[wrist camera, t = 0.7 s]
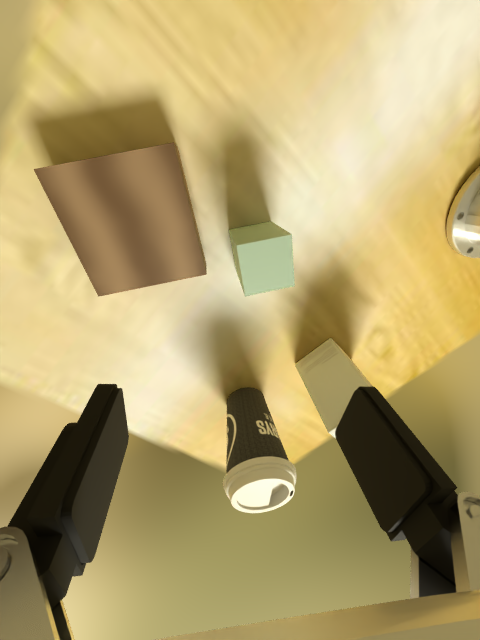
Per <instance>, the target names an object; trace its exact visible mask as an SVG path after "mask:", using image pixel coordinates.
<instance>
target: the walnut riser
mask: <svg viewBox="0 0 480 640" xmlns="http://www.w3.org/2000/svg"><path fill="white" fill-rule="evenodd" d="M34 171H35V173H36V175H37V177H38V179H39V181H40V183H41V185H42V187H43V189H44V191H45V193H46V194H47V196H48V198H49V200H50V202H51V204H52V206H53V208H54V210H55V212H56V214H57V216H58V218H59V220H60V222H61V224H62V226H63V228H64V230H65V232H66V234H67V236H68V238H69V240H70V242H71V243H72V245H73V247H74V249H75V251H76V253H77V255H78V257H79V259H80V261H81V263H82V265H83V267H84V269H85V271H86V273H87V275H88V277H89V279H90V281H91V283H92V285H93V287H94V289H95V290H96V292H97V294H98V296H103V295H108V294H113V293H118V292H123V291H128V290H132V289H137V288H142V287H147V286H152V285H157V284H162V283H167V282H172V281H177V280H181V279H186V278H191V277H196V276H201V275H206V262H205V257H204V253H203V249H202V245H201V241H200V237H199V233H198V229H197V225H196V221H195V217H194V212H193V208H192V204H191V200H190V196H189V192H188V188H187V184H186V180H185V176H184V172H183V167H182V163H181V159H180V155H179V151H178V147H177V146H176V145H175V144H174V143H169V144H164V145H158V146H153V147H148V148H143V149H137V150H132V151H127V152H122V153H117V154H111V155H106V156H101V157H96V158H90V159H85V160H80V161H75V162H69V163H64V164H59V165H54V166H48V167H43V168H38V169H34Z"/></svg>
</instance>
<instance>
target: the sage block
mask: <svg viewBox="0 0 480 640" xmlns="http://www.w3.org/2000/svg"><path fill="white" fill-rule="evenodd" d="M229 234H230V239H231V245H232V250H233V256H234V261H235V266H236V271H237V274H238V277H239V280H240V283H241V286H242V289H243V292H244V294H245V296H250V295H254V294H259V293H264V292H269V291H274V290H279V289H283V288H288V287H293V286H295V283H294V266H293V249H292V234H290V233H289V232H287V231H285V230H284V229H282V228H281V227H279V226H278V225H276V224H274V223H273V222H271V221H270V222H265V223H260V224H255V225H250V226H245V227H240V228H235V229H230V230H229Z"/></svg>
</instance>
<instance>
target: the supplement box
mask: <svg viewBox="0 0 480 640" xmlns="http://www.w3.org/2000/svg"><path fill="white" fill-rule="evenodd" d="M295 366H296V368H297V370H298V372H299V374H300V376H301V378H302V380H303V382H304V384H305V386H306V388H307V390H308V392H309V394H310V396H311V398H312V400H313V402H314V404H315V406H316V408H317V410H318V412H319V414H320V416H321V418H322V421H323V423H324V425H325V427H326V429H327V431H328V433H330V434H331V435H332V436H334V437H335V438H336V436H335V431H336V428H337V426H338V424H339V422H340V420H341V418H342V416H343V414H344V411H345V409H346V407H347V405H348V403H349V401H350V399H351V397H352V395H353V393H354V391H355V390H357V388H358V387H360V386H366V387H373V386H372V385H371V384H370V382H369V381H368V380H367V379H366V378H365V376H364V375H363V374H362V373H361V371H360V370H359V369H358V368H357V366H356V365H355V364H354V363H353V361H352V360H351V359H350V358H349V357H348V355H347V354H346V353H345V352H344V351H343V350H342V349H341V348H340V347H339V346H338V344H337V343H336V342H335V341H334V340H333V339H332V338H330V339H328V340H327V341H325V342H324V343H323V344H321V345H320V346H319V347H317V348H316V349H315V350H313V351H312V352H310V353H309V354H308V355H306V356H305V357H304V358H302V359H301V360H300V361H298V362H297V363H296V364H295Z"/></svg>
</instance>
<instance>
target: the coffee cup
mask: <svg viewBox="0 0 480 640" xmlns="http://www.w3.org/2000/svg"><path fill="white" fill-rule="evenodd" d="M295 483H296V469H295V466H294V465H293V464H292V463H291V462H290V461H289V460H288V458H287V455H286V453H285V450H284V448H283V445H282V443H281V440H280V438H279V435H278V432H277V430H276V427H275V425H274V422H273V420H272V417H271V414H270V412H269V409H268V407H267V404H266V402H265V399H264V396H263V394H262V393H261V392H260V391H259V390H257V389H254V388H242V389H239V390H236V391H235V392H233V393H232V394H231V395H230V396H229V398H228V400H227V473H226V475H225V477H224V480H223V487H224V490H225V493H226V495H227V496H228V498H229V499H230V500H231V504H232V506H233V507H234V508H235V509H237V510H239V511H242V512H247V513H260V512H266V511H270V510H273V509H276V508H278V507H280V506H282V505H284V504H286V503H287V502H288V501H289V500H290V499H291V498H292V496H293V495H294V491H295V487H294V486H295Z"/></svg>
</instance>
